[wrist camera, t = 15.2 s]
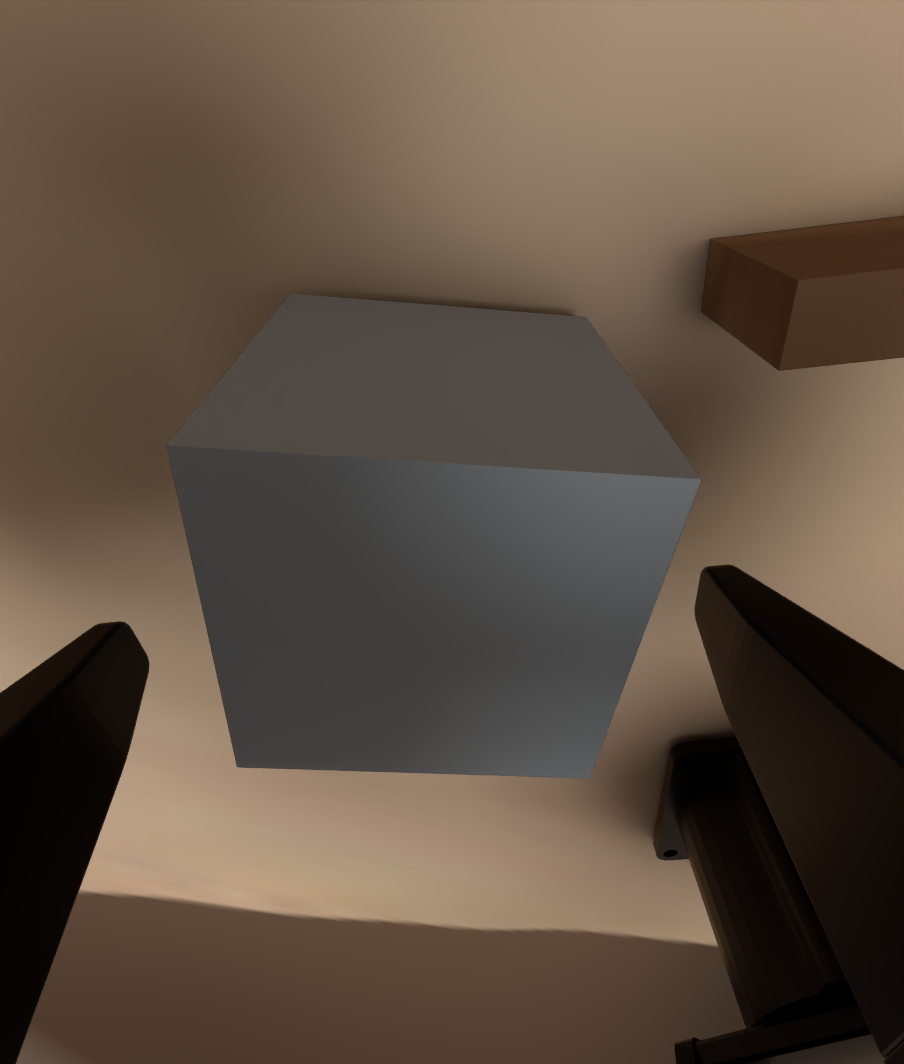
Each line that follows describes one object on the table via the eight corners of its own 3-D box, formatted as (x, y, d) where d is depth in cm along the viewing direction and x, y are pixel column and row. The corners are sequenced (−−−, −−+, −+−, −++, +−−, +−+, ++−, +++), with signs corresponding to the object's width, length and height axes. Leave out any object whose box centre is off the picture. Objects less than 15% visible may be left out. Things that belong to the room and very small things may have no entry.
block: (537, 549, 13) (589, 778, 9) (308, 536, 13) (237, 767, 8) (586, 316, 10) (700, 478, 6) (291, 293, 10) (167, 445, 5)
